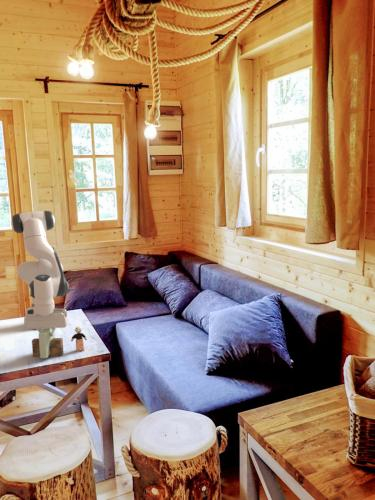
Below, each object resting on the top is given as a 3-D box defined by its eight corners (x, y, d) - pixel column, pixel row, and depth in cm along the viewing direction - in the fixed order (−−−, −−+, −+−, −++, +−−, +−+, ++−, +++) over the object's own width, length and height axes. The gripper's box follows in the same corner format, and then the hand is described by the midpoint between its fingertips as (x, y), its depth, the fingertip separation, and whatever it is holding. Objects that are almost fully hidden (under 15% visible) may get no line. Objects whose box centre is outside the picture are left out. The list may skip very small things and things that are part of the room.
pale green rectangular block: (49, 347, 216) (47, 324, 214) (55, 346, 216) (53, 324, 214) (40, 358, 202) (38, 334, 201) (46, 358, 202) (44, 333, 201)
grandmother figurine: (86, 347, 218) (84, 323, 216) (88, 350, 214) (86, 326, 212) (70, 350, 214) (69, 326, 212) (72, 353, 211) (71, 328, 209)
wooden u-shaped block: (33, 356, 208) (31, 340, 207) (35, 354, 211) (33, 338, 210) (61, 355, 208) (60, 340, 207) (63, 353, 211) (62, 337, 210)
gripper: (68, 306, 209) (70, 333, 211) (26, 307, 209) (28, 334, 211) (64, 310, 203) (66, 338, 205) (21, 311, 203) (23, 338, 205)
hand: (47, 336), depth 208 cm, fingers open, 3 cm apart
